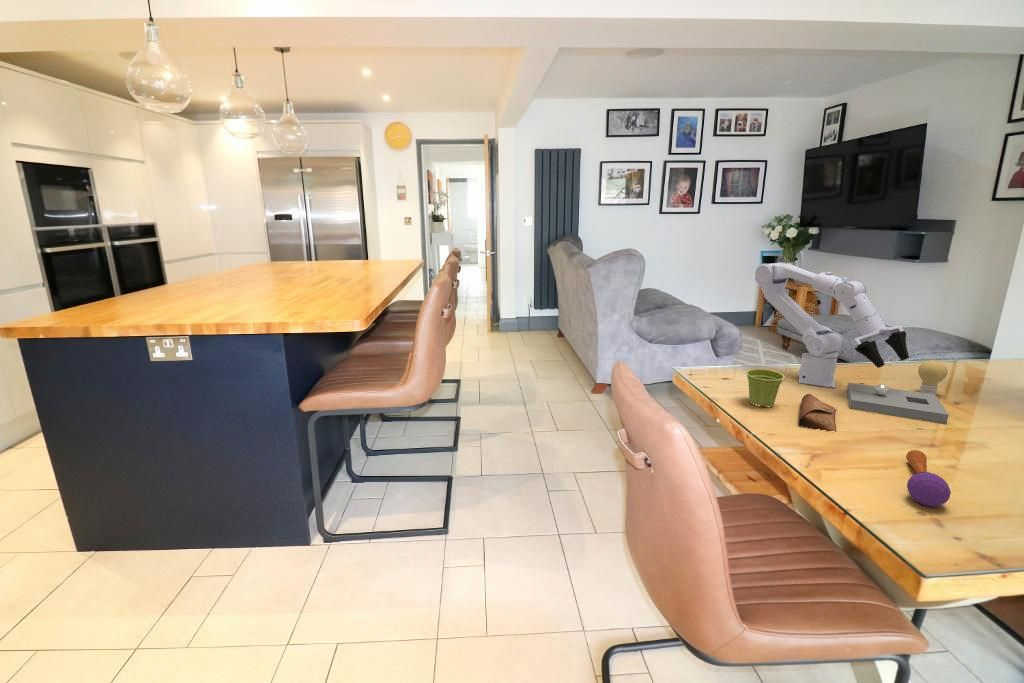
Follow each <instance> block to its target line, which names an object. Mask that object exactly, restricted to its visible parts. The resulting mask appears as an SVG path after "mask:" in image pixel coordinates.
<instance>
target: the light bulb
mask: <svg viewBox="0 0 1024 683" xmlns="http://www.w3.org/2000/svg"><path fill="white" fill-rule="evenodd" d="M917 373H918V376H919V378H920V379H921V381H922V382H921V383H920V389H919V392H921V393H928V394H935V395H937V391H938V388H939V384H940V383H941V382H943V381H944V380H945V379H946V378H947V375H948V367H947V366H946V365H945V364H944V363H942V362H940V361H937V360H927V361H922V363H921V364H919V366H918V370H917Z"/></svg>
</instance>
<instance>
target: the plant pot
mask: <svg viewBox="0 0 1024 683" xmlns="http://www.w3.org/2000/svg"><path fill="white" fill-rule="evenodd" d="M745 374H746V376H747V377H746V378H747V380H748V396H749V398H748V400H750V401H749V403H750V402H752V403H754V404H757V405H760V407H764V406H772V405H773V406H774V405H775V402H776V399H777V395H778V392H779V389H780V385H781V384H782V382H783V381H784V379H785V375H784V374H782V373H781V372H779V371H775V370H772V369H771V370H770V369H762V368H752V369H748V370H747V371H745ZM773 406H772V407H773Z"/></svg>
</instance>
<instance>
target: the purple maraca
mask: <svg viewBox="0 0 1024 683" xmlns="http://www.w3.org/2000/svg"><path fill="white" fill-rule="evenodd" d="M905 457H906V460H907V462H908V463H909V465H910V466H911V467H912V468H913V470H914V471H915V472H916V473H914V474H913V475H911V476H910V477H909V478H908V480H907V485H906V488H907V492H908V494H909V496H910V497H911V498H912V499H913V500H914V501H915V502H917V503H919V504H920V505H923V506H927V507H939V506H942V505H944V504H946V503H947V501H949V500H950V497H951V494H952V493H951V489H950V486H949V484H948V482H947V481H946V480H945V479H944V478H943V477H942V476H940V475H937V474H936V473H932V472H930V471H928V470H927V467H928V466H927V455H926V454H925V453H924V452H923V451H921V450H919V449H918V450H917V449H913V450H909V451H908V452H907V453H906V456H905Z"/></svg>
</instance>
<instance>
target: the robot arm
mask: <svg viewBox="0 0 1024 683" xmlns="http://www.w3.org/2000/svg"><path fill="white" fill-rule="evenodd" d="M754 274H755V275H754V280H755V282H756V283H757V284H758V285H759V286H760V289H761V291H762V294H763V296H764V298H765V299H766V301H768V303H770V304H771V306H772V307H773V308H774V309H775V310H777V311H778V312H779V314H781V315H782V316H783V317H784V318H785V319H786V320H787V321H788V322H789V323H790V324H791V325H792V326H793V327H794V328H795V329H796V330H797V331H798V332H799V333H800V334H802V338H801V341H802V342H803V344H804V345H805V347H806V350H807V351H808V352H803V353H802V355H801V361H800V368H799V369H798V373H797V375H798V383H800V384H806V385H812V386H820V387H827V388H833V389H834V388H836V386H835V372H836V366H837V360H838V356H839V352H840V351H842V350H843V349H844V347H845V342H846V341H845V339H844V337H843V335H841V334H840V333H839V332H836V331H833V330H832V329H830V328H829V327H827V326H825V325H822V324H820V323H818V322H817V321H816V320H815V319H814V318H813V317H812V316H811V315H810V314H809V313H807V311H806V310H804V309H803V308H802V307H801V306H800V305H799V304H798V303H797V302H796V301H795V300H794V299H792V297H791V296H789V295H788V293H786V292H785V288H786V286H787V283H788V280H789V279H791V280H795V281H799V282H802V283H806V284H809V285H811V286H812V289H813V290H814V291H817V292H819V293H822V294H825V295H827V296H830V297H833V298H834V299H835V300H836V301H837V302H839V303H841V304H843V307H845V309H846V310H847V312H848V313H849V315H850V317H851V319H852V320H853V322H854V324H855V325H856V327H857V328H858V330H859V332H860V333H861V335H862V336H859V337H854V339H851V340H850V343H851V345H852V347H853V348H854V350H855V352H857V353H859V354H861V355H863V356H864V357H865V358H866V359H868V360H869V361H870V362H871V363H872V364H873V365H874V366H875V367H876V368H877V369H878V368H882V367H883V366H886V365H885V361H884V360H883V358H882V356H881V354H880V352H879V349H878V345H877V342H876V341H877V340H881V339H885V338H887V337H888V338H887V339H885V340H884V342H885V343H886V344H887V345H888V346H889V347H890V348H891V349H892V350H893V351H894V352H895V355H896V356H897V357H898V358H899V359H900V361H905V360H907V359H909V358H910V355H909V351H908V347H907V333H906V331H905V330H904V328H903V326H902V325H901V324H899V325H895V326H886V325H885V323H884V321H883V320H882V319H881V316H880V314H879V313H878V312H877V310H876V309H875V308H874V305H873V304H872V302H871V301H870V299H869V298H868V296H867V295H866V294H867V287H866V285H865V284H864V283H863V282H861V281H860V280H856V279H855V280H854V279H853V280H851V281H849V278H847V277H845V276H844V277H839V276H837V275H833V272H831V271H824V272H820V273H818V274H816V273H815V272H812V271H809V270H806V269H804V268H801V267H798V266H797V265H794V264H791V263H787V262H783V261H780V262H774V263H773V262H772V263H760V264H759V265H758V266H756V270H755V272H754Z"/></svg>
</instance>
